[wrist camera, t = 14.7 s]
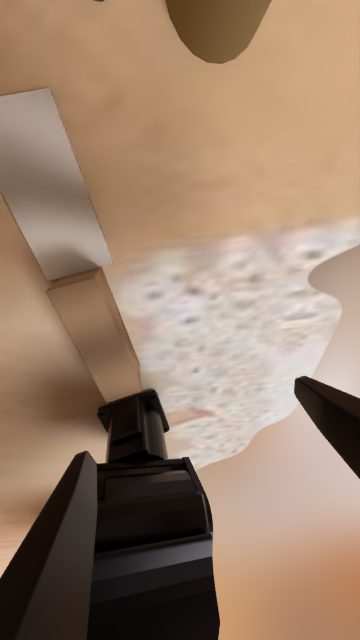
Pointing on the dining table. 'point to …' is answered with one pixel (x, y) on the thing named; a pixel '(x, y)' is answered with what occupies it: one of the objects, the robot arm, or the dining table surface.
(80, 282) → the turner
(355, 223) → the dining table surface
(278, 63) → the dining table surface
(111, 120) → the dining table surface
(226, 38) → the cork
